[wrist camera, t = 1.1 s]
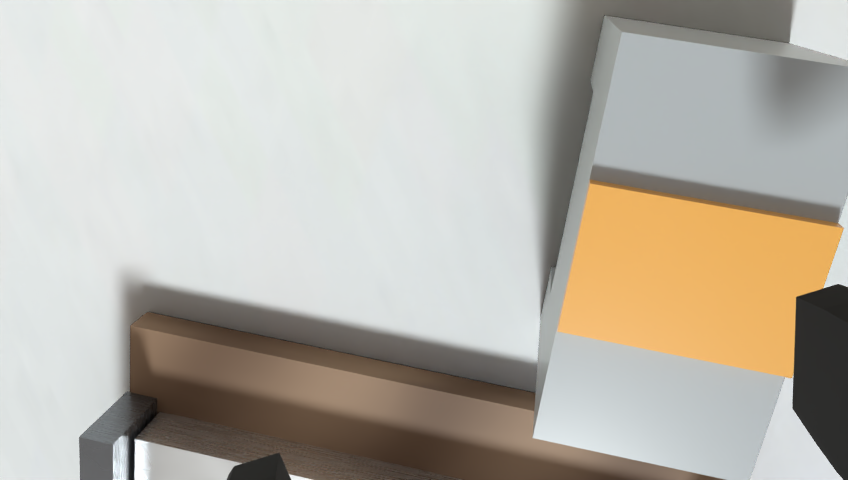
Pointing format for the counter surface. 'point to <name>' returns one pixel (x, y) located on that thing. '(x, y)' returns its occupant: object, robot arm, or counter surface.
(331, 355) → the mounting plate
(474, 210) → the counter surface
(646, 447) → the block
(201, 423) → the din rail
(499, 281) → the counter surface
